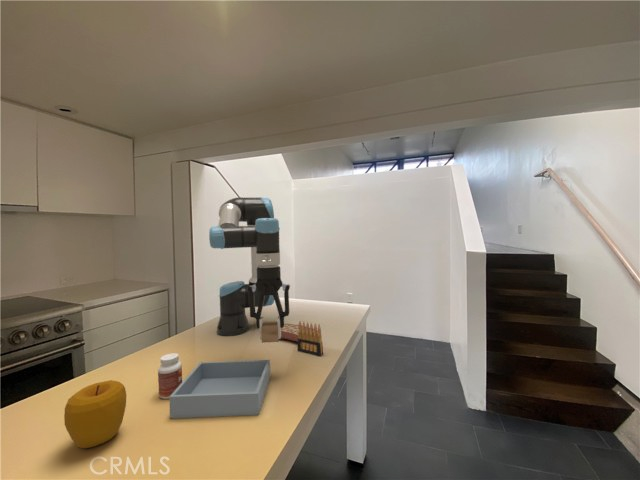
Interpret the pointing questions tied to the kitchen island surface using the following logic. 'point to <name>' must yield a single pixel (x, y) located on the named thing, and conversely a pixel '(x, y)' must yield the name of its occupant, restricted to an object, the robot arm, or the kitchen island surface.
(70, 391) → the kitchen island surface
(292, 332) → the anatomical model
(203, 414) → the tote
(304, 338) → the ammunition clip
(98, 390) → the apple
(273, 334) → the walnut cube
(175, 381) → the pill bottle
